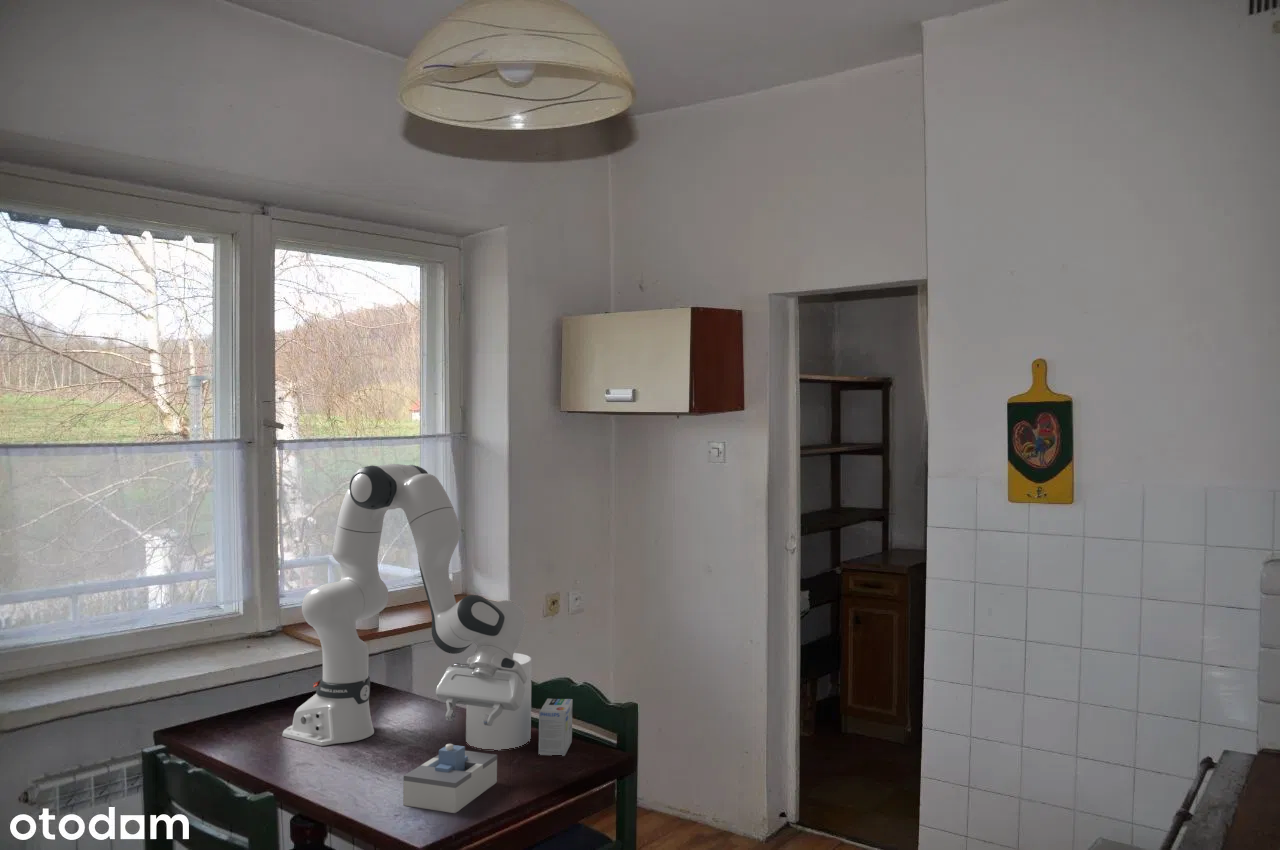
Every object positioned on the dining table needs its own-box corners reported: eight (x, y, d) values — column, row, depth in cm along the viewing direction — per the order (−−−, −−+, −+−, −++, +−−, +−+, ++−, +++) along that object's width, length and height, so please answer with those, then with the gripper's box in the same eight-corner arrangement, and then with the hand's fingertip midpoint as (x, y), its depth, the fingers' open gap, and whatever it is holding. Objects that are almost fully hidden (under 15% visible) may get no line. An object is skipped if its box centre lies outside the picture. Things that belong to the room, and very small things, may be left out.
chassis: (403, 805, 191) (403, 775, 191) (448, 775, 208) (448, 748, 208) (455, 813, 187) (455, 783, 187) (496, 782, 204) (497, 754, 204)
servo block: (432, 792, 194) (433, 748, 194) (453, 778, 202) (453, 736, 202) (449, 794, 193) (450, 750, 193) (469, 780, 201) (470, 738, 201)
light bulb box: (546, 741, 232) (546, 697, 233) (572, 742, 232) (573, 698, 232) (537, 755, 222) (538, 709, 222) (565, 756, 221) (566, 710, 221)
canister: (493, 726, 244) (494, 649, 244) (543, 736, 236) (544, 657, 236) (452, 743, 230) (453, 661, 230) (503, 754, 222) (504, 670, 222)
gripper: (445, 655, 215) (421, 709, 206) (525, 663, 208) (504, 719, 199) (454, 670, 219) (431, 723, 210) (533, 678, 213) (513, 734, 203)
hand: (467, 721), depth 204 cm, fingers open, 8 cm apart
